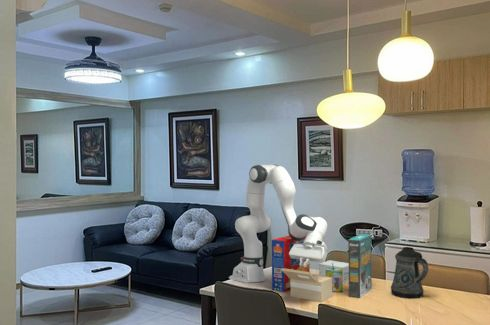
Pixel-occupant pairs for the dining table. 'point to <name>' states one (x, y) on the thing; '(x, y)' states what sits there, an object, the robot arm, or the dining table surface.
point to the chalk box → (335, 278)
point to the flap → (299, 275)
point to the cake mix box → (359, 265)
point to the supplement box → (336, 265)
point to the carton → (312, 288)
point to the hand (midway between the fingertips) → (302, 266)
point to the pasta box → (284, 263)
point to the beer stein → (408, 274)
